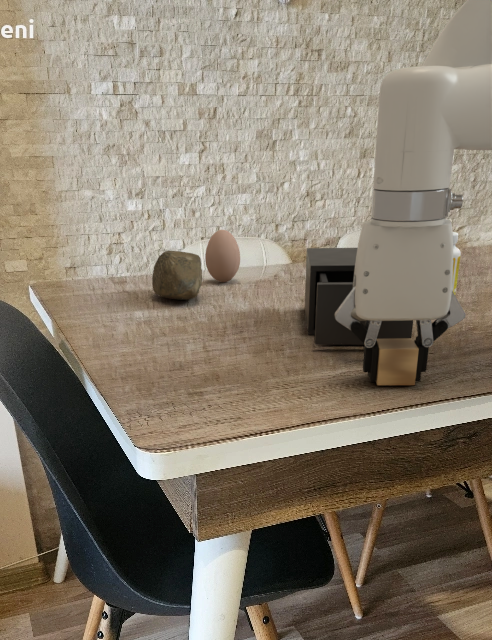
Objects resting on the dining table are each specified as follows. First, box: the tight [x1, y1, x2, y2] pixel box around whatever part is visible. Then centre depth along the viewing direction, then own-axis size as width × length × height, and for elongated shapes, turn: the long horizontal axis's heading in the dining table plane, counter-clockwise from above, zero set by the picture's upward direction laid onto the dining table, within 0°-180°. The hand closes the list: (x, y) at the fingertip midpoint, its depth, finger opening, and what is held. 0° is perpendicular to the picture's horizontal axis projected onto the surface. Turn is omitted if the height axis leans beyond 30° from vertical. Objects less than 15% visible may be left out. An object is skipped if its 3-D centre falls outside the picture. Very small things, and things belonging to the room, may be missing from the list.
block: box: [375, 337, 419, 386], centre depth 76 cm, size 4×4×4 cm
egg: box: [204, 229, 241, 283], centre depth 129 cm, size 7×7×10 cm
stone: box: [151, 250, 203, 301], centre depth 117 cm, size 17×9×8 cm, turn 20°
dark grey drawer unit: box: [304, 247, 358, 336], centre depth 99 cm, size 16×14×10 cm
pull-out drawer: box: [314, 271, 414, 346], centre depth 90 cm, size 19×12×8 cm, turn 175°
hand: (393, 376), depth 77 cm, fingers closed on block, 4 cm apart
